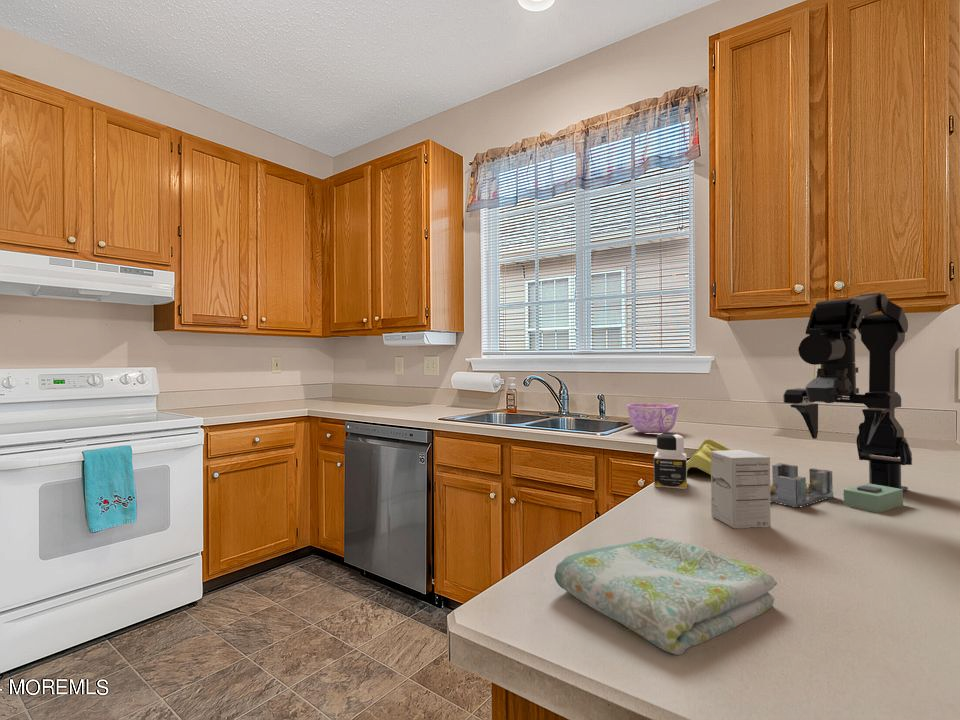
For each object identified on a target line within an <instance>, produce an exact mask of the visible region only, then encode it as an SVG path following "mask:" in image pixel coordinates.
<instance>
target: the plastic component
mask: <svg viewBox="0 0 960 720" xmlns="http://www.w3.org/2000/svg"><path fill="white" fill-rule="evenodd" d="M725 450H731V449H729V448H728V447H727V446H725V445H723V444H721V443H719V442H717V441H715V440H714V439H711V438H707V439H705V440H704V441H703V442H702V443H701V445H700V446H699V447H698V448H697V449H696V451H695V452H694V454H693V455H692V456H691V457H690V459H689V460H688V461H687V472H688V471H689V469H690V468H692V467H693V468H694V467H695V468H697V469H699V470H701V471H702V472H704V473H707V474H708V475H710V476H711V451H725Z"/></svg>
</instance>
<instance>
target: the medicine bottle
mask: <svg viewBox="0 0 960 720" xmlns="http://www.w3.org/2000/svg"><path fill="white" fill-rule="evenodd" d="M684 439H685V438H684V436H682V435H681V434H675V433H664V434H661V435H656V452H655V453H654V455H653V482H654V483H653V485H654V487H656V488H668V489H669V488H670V489H681V490H686V489H687V487H688V478H687V477H688V471H687V462H688V461H687V458H688V457H687V453H685V448H684V447H685V446H684V445H685V443H684V442H685V440H684Z"/></svg>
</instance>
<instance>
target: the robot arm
mask: <svg viewBox="0 0 960 720" xmlns="http://www.w3.org/2000/svg"><path fill="white" fill-rule="evenodd" d="M877 312H878V313H877ZM879 312H881V313H879ZM908 329H909V321H908V318H907V316H906V313H905V311H904V309H903V308H902V307H901V306H899V305H898V304H896V303H894V302H892V301H890V300H889V298H888V297H887V295H886V293H881V292H876V293H865V294H859V295H858V296H855V297H852V298H851V297H850V298H840V299H831V300H830V299H829V300H818V301H817V302H816V303H815V305H814V307H813V308H812V310H811V313H810V316H809V319H808V322H807V326H806V329H805V335H807V336H806V337H804V338H803V339H802V340H801V342H800V344H799V346H798V347H797V350H798V354H799V357H800V358H801V360H802V361H804V362H805V363H806V364H809V365H812V366H813V365H815V366H816V365H817V366H819V365H820V368H819V367H818V368H817V371H816V376H815V378H813V379H812V380H811V381H809V382H808V383H807V384H806V385H805V388H803V387H802V388H800V387H799V388H798V387H797V388H789V389H786V390H785V391H784V393H783V395H782V396H783V397H782V398H783V404H790V407H791V408H795V410H796V411H798V413H800V415H801V416H802V418H803V420H804V422H805V425H806V426H807V428H808V431H809V433H810V436H811V438H812V439H814V440H816V439H817V438H818V433H819V403H820V402H821V403H825V404H833V403H843V404H844V403H845V404H863V405H864V406H865V407H867V408H864V409H861V411H862V414H863V417H864V421H863V422H860V424H859V426H858V434H857V436H856V448H857V454H858V460H859V461H868V479H869V480H868V481H869V482H868V483H870V484H876V485H881V486H887V487H893V488H898V489H903V492H904V491H907V490H908V489H909V487H908V486H905V485H904V486H903V485H902V466H912V465H913V454H912V450H911V448H910V446H909V443H908V440H907V438H906V437H905V431H904V428H903V427H902V426H901V424H900V423H899V421H898V420H897V419H896V417H895V413H896V412H895V408H901V407H902V397H901V395H900V393H898V392H897V391H896V353H897V351H898V349H900V347H901V346H902V345H903V343H905V338H906V333H907V332H908ZM856 330H857V332H858V333H859V334H860V342H862V344H863V345H864V347H865V348H866V349H867V350H868V352H869V359H868V360H869V362H868V364H869V365H868V366H869V367H868V368H869V369H868V377H869V378H868V391H867V392H864V393H863V394H862V393H861V394H860V388H859V387H857V380H856V379H857V377H856V376H857V374H858V373H859V367H857V366H856V339H857V335H856V333H855V331H856ZM856 373H857V374H856ZM817 402H819V403H817Z"/></svg>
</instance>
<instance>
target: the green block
mask: <svg viewBox="0 0 960 720" xmlns="http://www.w3.org/2000/svg"><path fill="white" fill-rule="evenodd" d="M845 505H846V507H849V506H850V507H851V508H854V507H855V508H854V509H860V510H863V509H864V511H868V510H869V512H874V513H877V512H878V514H879V513H881V512H885V511H888V510H891V509H895V508H899V507H901V506H903V505H904V491H903V489H898V488H893V487H887V486H881V485H876V484H870V483H869V482H868V483H864V484H861V485H856V486H852V487H848V488H844V489H843V506H845ZM850 507H849V508H850Z"/></svg>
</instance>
